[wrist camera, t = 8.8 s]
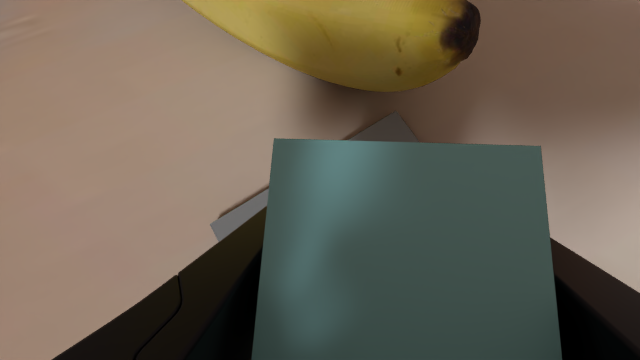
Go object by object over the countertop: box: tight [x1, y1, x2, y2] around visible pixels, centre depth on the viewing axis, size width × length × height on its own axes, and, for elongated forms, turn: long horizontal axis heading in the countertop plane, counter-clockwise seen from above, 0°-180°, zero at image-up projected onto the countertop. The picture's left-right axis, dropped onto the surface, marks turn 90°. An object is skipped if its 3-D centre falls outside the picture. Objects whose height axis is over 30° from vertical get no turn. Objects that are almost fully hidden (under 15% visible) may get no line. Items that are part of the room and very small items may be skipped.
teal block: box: [251, 138, 562, 360], centre depth 10 cm, size 4×4×10 cm
